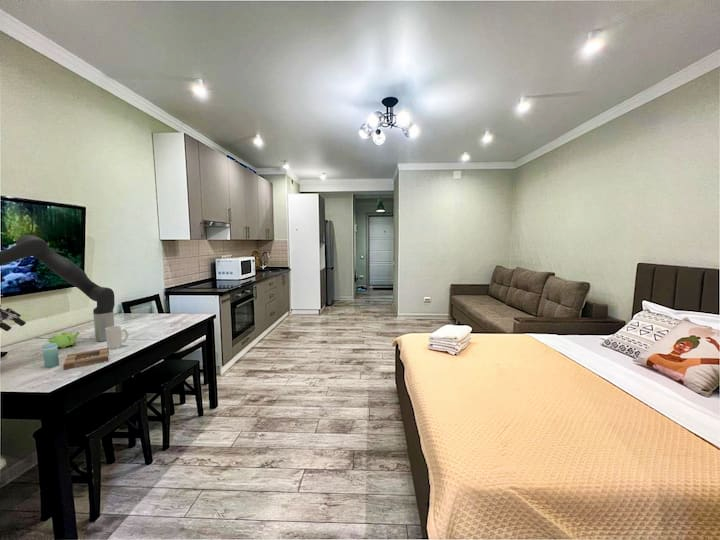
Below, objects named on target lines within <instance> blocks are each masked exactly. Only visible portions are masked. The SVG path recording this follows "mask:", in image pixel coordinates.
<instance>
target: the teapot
mask: <svg viewBox="0 0 720 540" xmlns="http://www.w3.org/2000/svg"><path fill="white" fill-rule="evenodd" d="M79 335H80V332H78V331H76V332H75V334H73V333H71V332H67V331H64V332H61V333H59V334H54V335H52V337H53V338H54V339H51V338H49V339H48V340H47V342H49V343H57V346H58V347H59V348H61V349H66V348H65V347H68V346H70V345H73V344H75V343H76V342H77V337H78V336H79ZM73 346H74V345H73Z"/></svg>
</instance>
